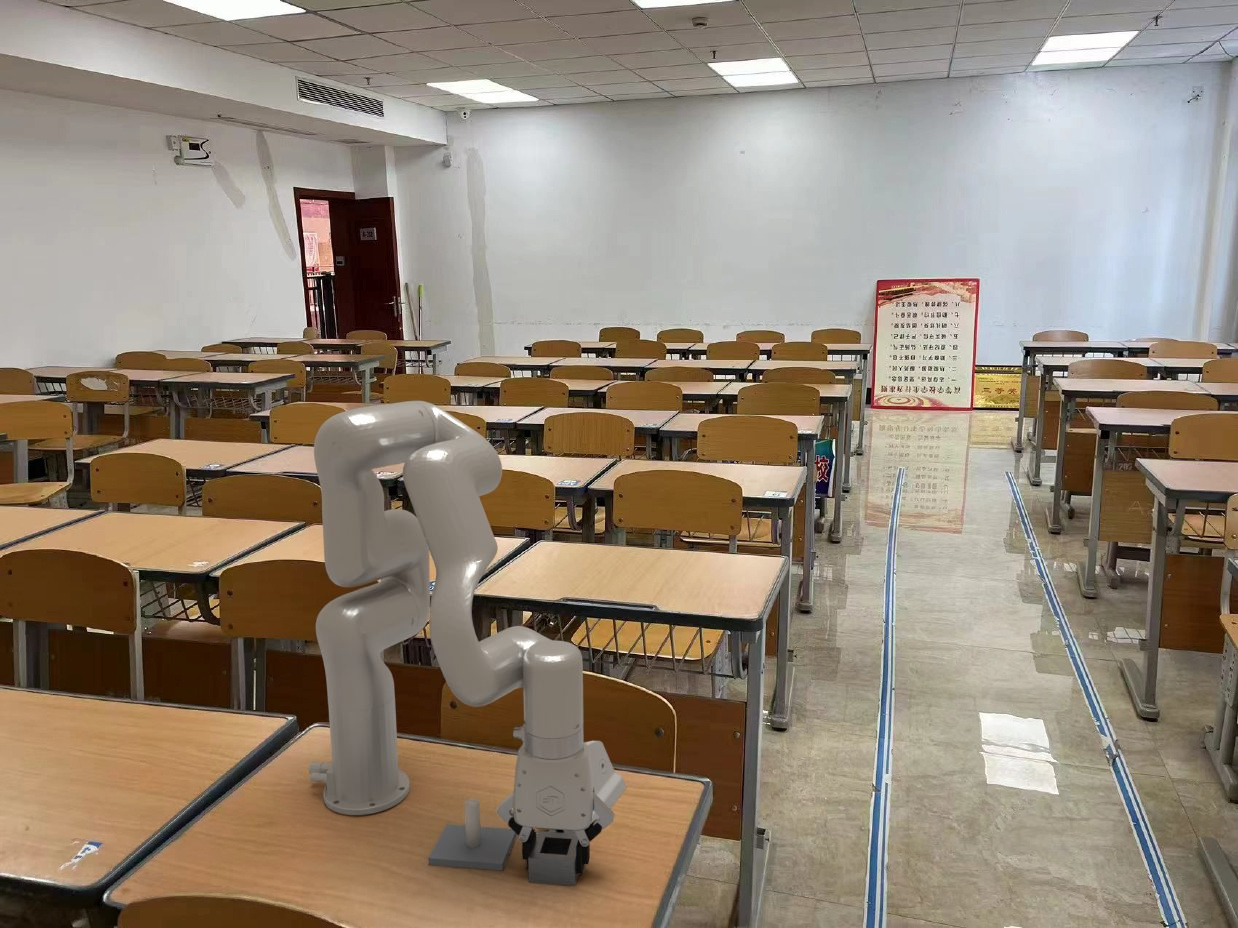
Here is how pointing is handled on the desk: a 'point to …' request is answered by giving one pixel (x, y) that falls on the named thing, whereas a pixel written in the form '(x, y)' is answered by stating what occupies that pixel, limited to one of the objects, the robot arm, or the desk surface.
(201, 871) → the desk surface
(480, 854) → the keeper
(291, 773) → the desk surface
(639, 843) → the desk surface
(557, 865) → the grey square hollow block
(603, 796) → the grey slotted holder
